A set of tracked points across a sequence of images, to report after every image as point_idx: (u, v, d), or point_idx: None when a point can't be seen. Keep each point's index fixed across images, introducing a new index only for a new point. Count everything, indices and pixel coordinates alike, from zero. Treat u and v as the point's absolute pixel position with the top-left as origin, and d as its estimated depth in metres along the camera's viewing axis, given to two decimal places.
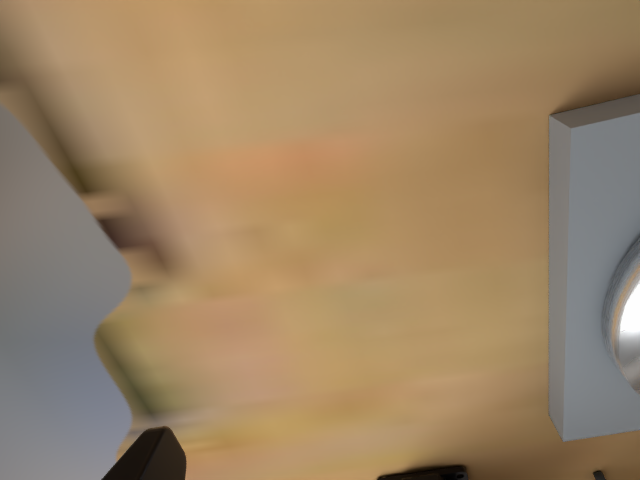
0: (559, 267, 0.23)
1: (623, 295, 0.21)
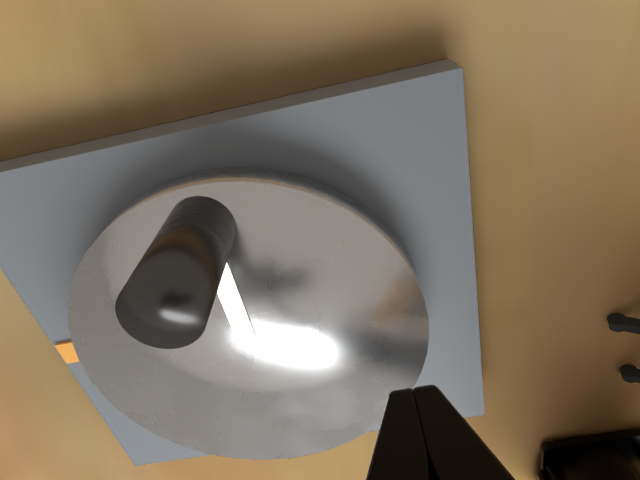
0: None
1: None
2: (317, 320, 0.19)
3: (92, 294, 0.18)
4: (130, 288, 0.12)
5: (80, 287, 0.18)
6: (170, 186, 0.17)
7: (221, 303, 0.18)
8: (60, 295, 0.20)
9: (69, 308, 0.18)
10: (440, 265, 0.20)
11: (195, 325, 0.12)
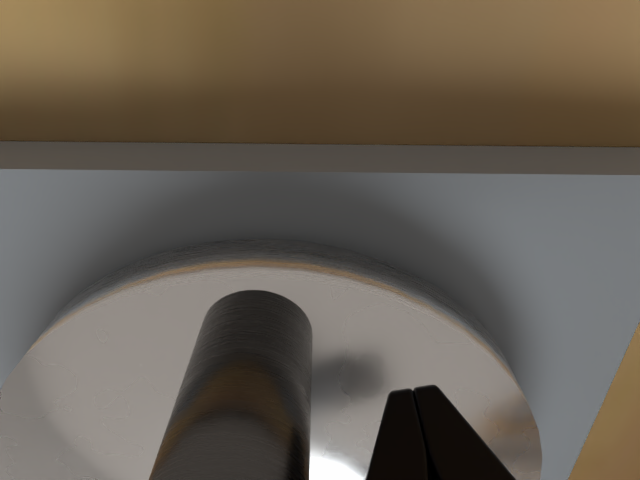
0: None
1: None
2: None
3: (41, 394, 0.11)
4: None
5: (23, 382, 0.11)
6: (216, 258, 0.10)
7: None
8: None
9: None
10: (549, 416, 0.14)
11: None
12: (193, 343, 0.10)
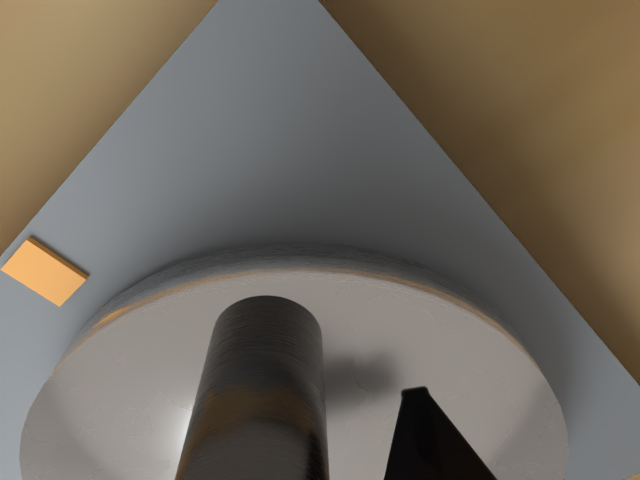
0: None
1: None
2: None
3: (65, 420, 0.11)
4: None
5: (46, 410, 0.11)
6: (219, 269, 0.10)
7: None
8: (151, 213, 0.11)
9: (23, 436, 0.11)
10: None
11: None
12: (206, 354, 0.10)
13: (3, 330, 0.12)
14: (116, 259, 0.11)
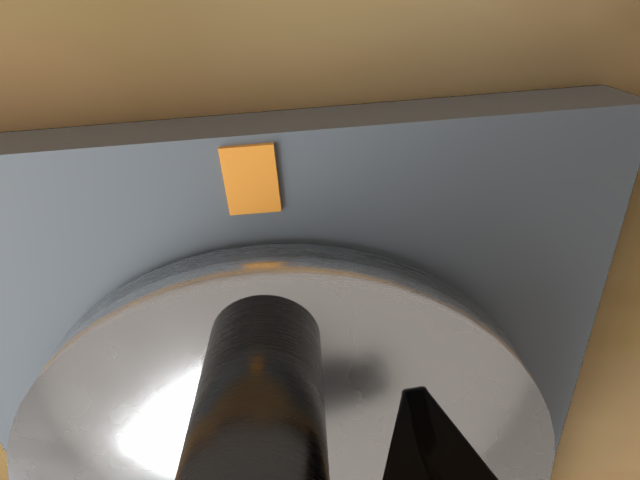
0: None
1: None
2: None
3: (56, 415, 0.11)
4: None
5: (37, 405, 0.11)
6: (219, 267, 0.10)
7: None
8: (388, 200, 0.11)
9: (12, 431, 0.11)
10: None
11: None
12: (203, 352, 0.10)
13: (143, 196, 0.10)
14: (320, 211, 0.11)
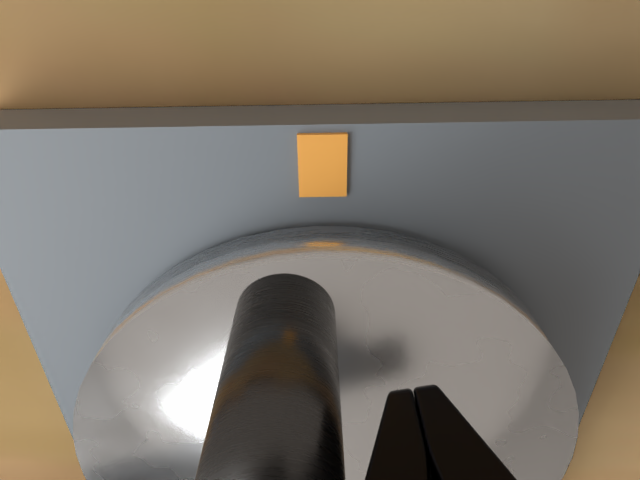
0: None
1: None
2: None
3: (111, 397, 0.12)
4: None
5: (94, 388, 0.12)
6: (238, 253, 0.11)
7: None
8: (444, 192, 0.12)
9: (76, 413, 0.13)
10: None
11: None
12: None
13: (221, 174, 0.11)
14: (381, 199, 0.12)
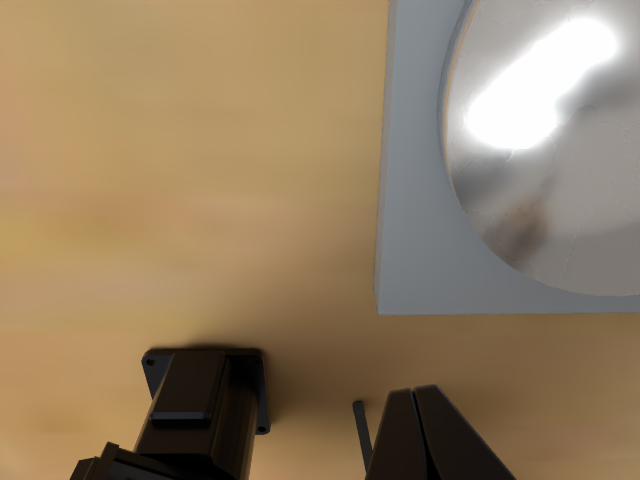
0: (393, 5, 0.15)
1: None
2: None
3: None
4: None
5: None
6: None
7: None
8: None
9: (478, 12, 0.13)
10: None
11: None
12: None
13: None
14: None
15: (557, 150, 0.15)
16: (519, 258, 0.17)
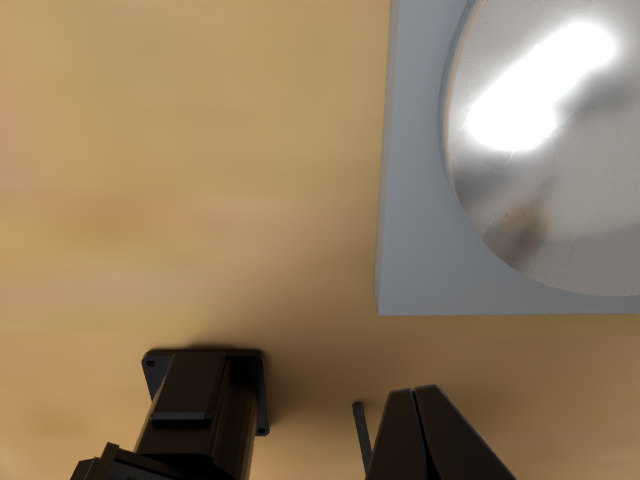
0: (395, 8, 0.16)
1: None
2: None
3: None
4: None
5: None
6: None
7: None
8: None
9: (480, 15, 0.13)
10: None
11: None
12: None
13: None
14: None
15: (557, 151, 0.15)
16: (519, 258, 0.17)
